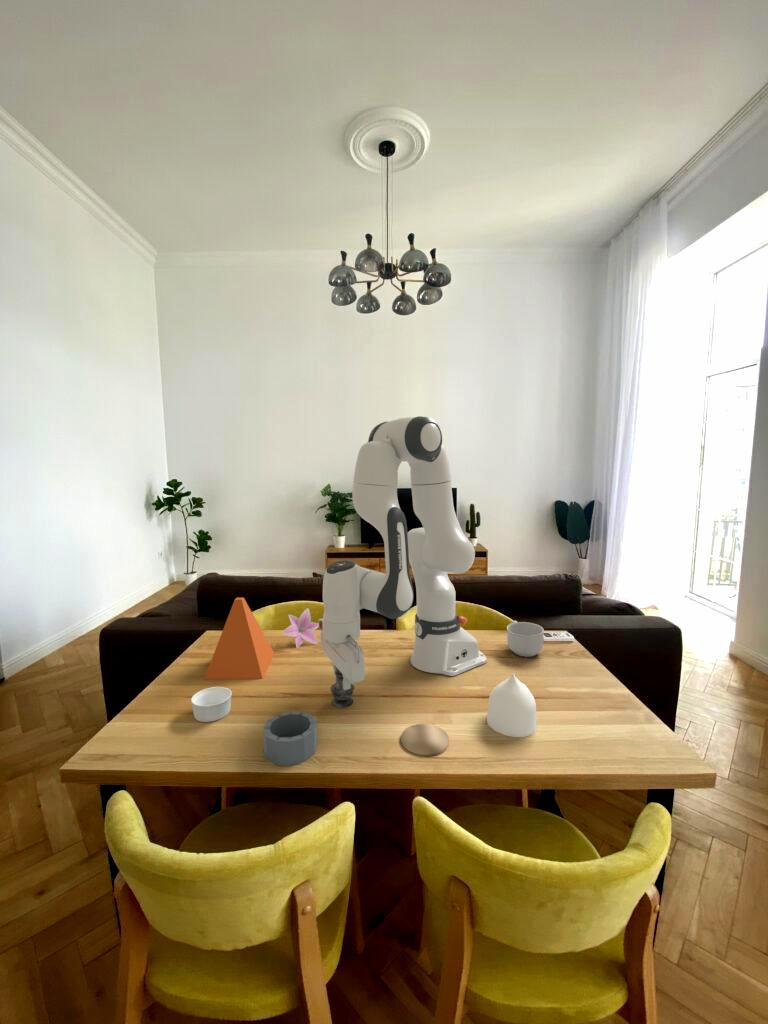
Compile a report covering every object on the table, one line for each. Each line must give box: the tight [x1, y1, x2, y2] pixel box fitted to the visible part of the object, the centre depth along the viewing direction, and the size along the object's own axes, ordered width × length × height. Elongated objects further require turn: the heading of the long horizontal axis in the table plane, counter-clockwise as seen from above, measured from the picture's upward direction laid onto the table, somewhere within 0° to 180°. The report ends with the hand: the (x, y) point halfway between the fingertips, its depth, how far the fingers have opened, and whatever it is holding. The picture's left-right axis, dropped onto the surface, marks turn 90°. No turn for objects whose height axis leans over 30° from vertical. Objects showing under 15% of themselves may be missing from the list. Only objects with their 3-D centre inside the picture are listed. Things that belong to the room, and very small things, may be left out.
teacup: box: [506, 620, 545, 658], centre depth 139 cm, size 14×11×8 cm
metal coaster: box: [400, 723, 450, 757], centre depth 95 cm, size 10×10×1 cm
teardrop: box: [486, 672, 538, 738], centre depth 101 cm, size 11×11×12 cm
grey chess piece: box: [330, 667, 355, 709], centre depth 109 cm, size 6×6×12 cm
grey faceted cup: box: [262, 710, 318, 767], centre depth 92 cm, size 10×10×5 cm
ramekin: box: [190, 686, 233, 723], centre depth 105 cm, size 9×9×4 cm
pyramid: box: [204, 597, 276, 680], centre depth 128 cm, size 16×16×20 cm
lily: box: [281, 607, 319, 649], centre depth 146 cm, size 12×12×10 cm
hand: (342, 683), depth 109 cm, fingers closed on grey chess piece, 3 cm apart
